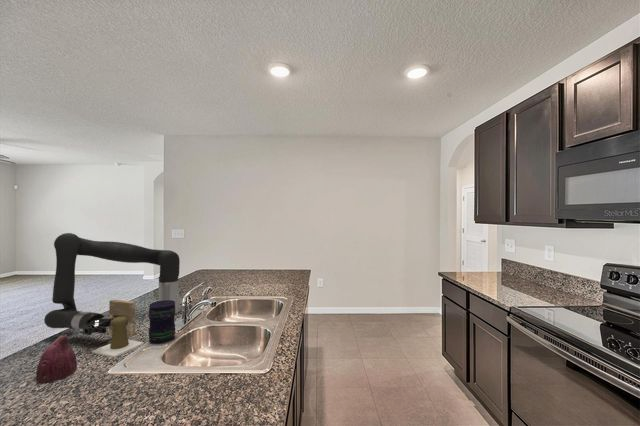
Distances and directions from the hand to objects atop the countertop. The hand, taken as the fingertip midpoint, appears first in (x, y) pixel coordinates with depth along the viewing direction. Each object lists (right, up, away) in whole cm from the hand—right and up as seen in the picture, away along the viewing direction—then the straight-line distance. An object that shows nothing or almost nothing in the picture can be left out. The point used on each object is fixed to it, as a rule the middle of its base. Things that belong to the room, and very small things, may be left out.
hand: (116, 326), depth 115 cm
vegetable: (-6, -8, -19) cm, 22 cm away
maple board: (-7, -8, +14) cm, 18 cm away
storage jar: (+14, -9, +8) cm, 18 cm away
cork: (+1, -8, 0) cm, 8 cm away
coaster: (+1, -8, -1) cm, 8 cm away
